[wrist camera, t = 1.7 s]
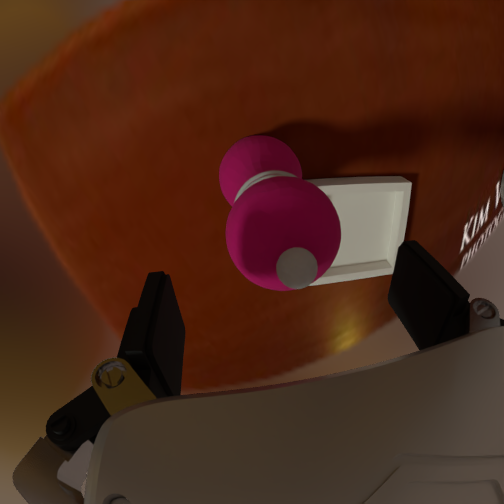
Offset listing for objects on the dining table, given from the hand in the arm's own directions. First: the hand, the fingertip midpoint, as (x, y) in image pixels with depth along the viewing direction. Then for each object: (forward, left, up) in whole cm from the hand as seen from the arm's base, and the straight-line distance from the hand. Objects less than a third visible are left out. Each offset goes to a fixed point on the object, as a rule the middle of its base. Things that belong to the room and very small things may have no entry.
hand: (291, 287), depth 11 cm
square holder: (-11, +8, -20) cm, 25 cm away
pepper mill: (0, 0, -21) cm, 21 cm away
